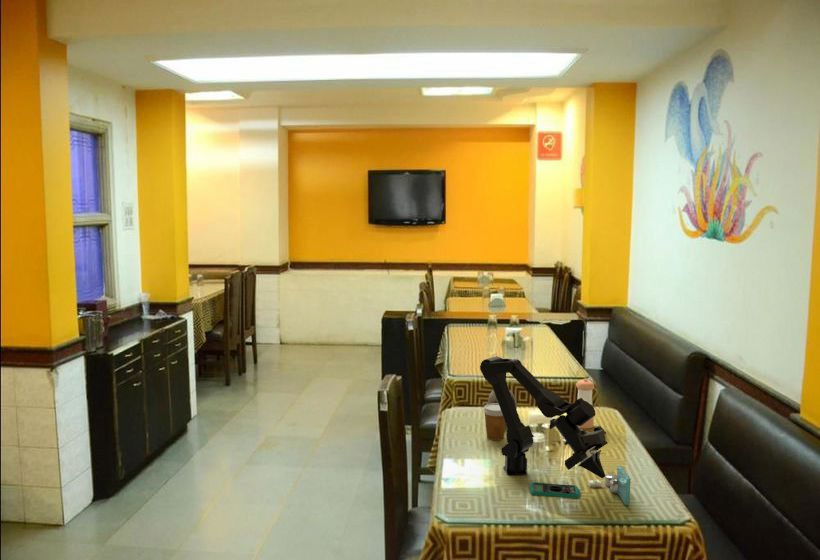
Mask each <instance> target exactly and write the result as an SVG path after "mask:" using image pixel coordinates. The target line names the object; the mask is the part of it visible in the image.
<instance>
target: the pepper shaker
mask: <svg viewBox="0 0 820 560" xmlns="http://www.w3.org/2000/svg"><path fill="white" fill-rule="evenodd" d="M575 386H576V388H577V399H579V398H582V399H583V400H584V401H587V402H588V403H589V404H590V405H592V406H593V407H594V405H593V390H594V388H595V383H594V382H593V381H591V380H589V379H588V378H583V379H580V380H578V381H577V382H576V384H575ZM578 427H579V428H580V429H584V430H586V429H591V428H594V417H593V418H591V419H590V420H589V421H587V422H586V423H585V424H583V425H582V426H578Z"/></svg>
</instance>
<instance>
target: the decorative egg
mask: <svg viewBox="0 0 820 560" xmlns="http://www.w3.org/2000/svg"><path fill="white" fill-rule="evenodd" d="M509 391H510V394H511V396H512V399H513V402H514V404H515V407H516V410H517V409H518V408H517V407H518V406H517V400H516V397H515V395H514V393H513V391H512V390H511V389H509ZM492 403H496V404H498V401H497V398H496V395H495V393H494V390H493V389H492V391H490V394H489V396H488V399H487V404H492ZM487 404H486V405H487Z"/></svg>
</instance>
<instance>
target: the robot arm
mask: <svg viewBox="0 0 820 560" xmlns="http://www.w3.org/2000/svg"><path fill="white" fill-rule="evenodd" d="M479 370H480V373H481V374H482V376H483V378H484V380H485V381H486V382H487V383H489V385H491V387H492V391H493V390H494V393H495V395H496V398H497V401H498V404H499V406H500V409H501V412H502V414H503V417H504V420H505V423H506V437H505V438H506V444H505V445H503V446H502V447H501V449H500V451H501V454H502V456H503V457H504V466H503V469H504V472H505V473H506V474H507V476H517V475H518V476H520V475H527V474H528V473H527V470H528V458H527V457H526V453H528V452H529V450H530V448H532V446H533V445H534V437H535V436H534V434H533V432H532V430H531V426H530V425H529V424H528V425H525V424H524V423H522V420H521V418H520V416H519V412H518V411H517V410H516V407H515V404H514V402H513V399H512V396H511V394H510V391H509V390H510V389H509V386H508V384H507V383H508V382H507V374H510V375H511V376H512V377H513V378H514V379H515V381H517V382H518V383H519V384H520V385H521V386H522V387H523V388H524V389H525V391H527V393H529V395H530V396H531V397H532V398H533V399H534V401H535V403H536V407H537V408H538V409H539V411H540V412H541V414H542V415H543V416H544V417H545V418H549V419H550V418H551V419H550V420H549V427H548V428H549V430H552V429H554V428H556V429H557V430H558V432H559V433H560V434H561V436H562V437H563V439H564V442H563V443H564V445H565V446H569V447H570V449H571V450H572V452H573V453H571V454H572V455H571V456H569V457H568V458H567V459H565V460H564V466H565V468H566V469H567V471H569V470H571V469H573V468H574V467H575V466H576V465H577V466H578V467H581V468H583V469H585V470H587V471H589V472H591V473H592V474H594V475H595V476H597V477H598V478H601V479H605V475H606V474H605V470H604V467H603V465H602V462H601V458H600V455H601V452H602V450H601V448H604V447H605V446H606V445H607V444H608V441H607V438H606V434H607V431H606V430H605V429H604V428H603V427H602V426H601V425H598V426H595V427H593V430H592V431H590V432H587V430H586V429H585V428H579V427H578V426H582V425H583V424H585V423H586V422H587V421H589V420H590V419H591V418H594V417H595V416H596V409H595V407H594V405H593V404H592V405H593V406H592V405H590V404H589V403H588V402H587V401H584V400H583V399H582V398H579V399H578V398H577V399H576V400H575V401H574V402H573V403H570V402H569V401H566V400H564V399H563V398H562V397H561V396H560V395H559V394H558V393H556V392H554V391H552V390H550V389H547V388H546V387H545V386H544V385H543V384H542V383H541V382H540V381H539V380H538V379H537V378H536V377H535V376H534V375H533V374H532V373H531V372H530V371H529V370H528V369H527V368H526V367H525V366H524V365H523V364H522V362H521V360H520V359H518V358H517V359H516V358H515V359H512V358H502V357H500V356H498V355H496V356H492V357H489V358H486V359H483V360H481V362H480V365H479ZM564 414H566V415H564ZM555 417H557V418H555ZM579 463H580V464H579Z"/></svg>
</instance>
